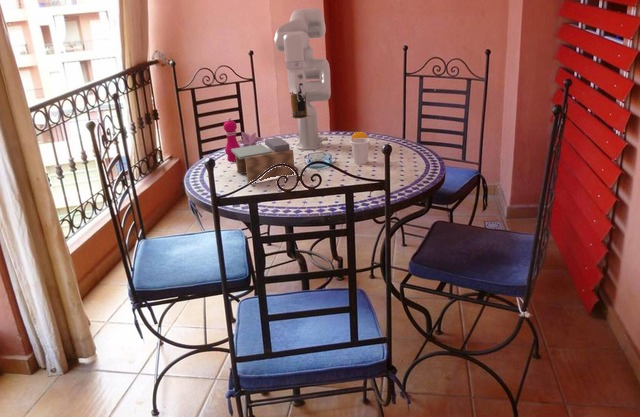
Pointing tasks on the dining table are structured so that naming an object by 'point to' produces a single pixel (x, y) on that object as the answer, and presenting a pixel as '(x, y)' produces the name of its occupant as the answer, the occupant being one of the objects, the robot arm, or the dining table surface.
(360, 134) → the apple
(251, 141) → the lily
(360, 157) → the dixie cup
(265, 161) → the stand
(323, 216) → the dining table surface
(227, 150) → the pepper mill
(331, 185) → the dining table surface
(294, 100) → the condiment
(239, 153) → the trapdoor
